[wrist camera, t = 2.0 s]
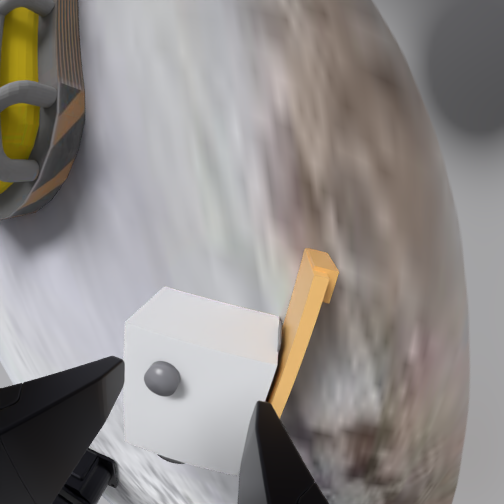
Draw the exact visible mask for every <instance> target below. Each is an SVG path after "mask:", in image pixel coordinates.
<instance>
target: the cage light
mask: <svg viewBox="0 0 504 504" xmlns="http://www.w3.org/2000/svg"><path fill="white" fill-rule="evenodd" d="M84 121H85V89H84V81H83V73H82V63H81V52H80V38H79V19H78V0H0V220H3V219H8V218H13V217H18V216H22V215H26V214H30V213H34V212H37V211H38V210H39V209H40V208H42V207H43V206H44V205H45V204H47V203H48V202H49V201H50V200H52V199H53V197H54V196H55V194H56V193H57V191H58V190H59V188H60V187H61V186H62V184H63V183H64V181H65V180H66V178H67V177H68V174H69V172H70V169H71V167H72V164H73V162H74V159H75V157H76V155H77V152H78V150H79V145H80V140H81V135H82V130H83V126H84Z"/></svg>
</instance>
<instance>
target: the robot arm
mask: <svg viewBox="0 0 504 504" xmlns="http://www.w3.org/2000/svg"><path fill="white" fill-rule="evenodd" d="M124 381H125V363H124V361H123V360H122V359H120V358H117V357H115V356H110V357H107V358H104V359H100V360H97V361H94V362H91V363H88V364H85V365H81V366H78V367H75V368H72V369H68V370H65V371H62V372H58V373H55V374H52V375H48V376H45V377H41V378H38V379H34V380H31V381H27V382H24V383H23V384H22V383H20V384H16V385H12V386H8V387H5V388H0V504H97V503H98V501H99V499H100V497H101V495H102V494H103V492H104V490H105V488H106V487H107V485H109V486H112V487H114V488H116V487H117V478H116V472H115V464H114V461H113V460H111V459H110V458H107V457H105V456H103V455H101V454H99V453H96V452H94V451H92V450H90V449H88V447H89V446H90V444H91V443H92V441H93V440H94V438H95V437H96V435H97V434H98V432H99V431H100V429H101V428H102V426H103V425H104V423H105V421H106V419H107V418H108V416H109V414H110V412H111V410H112V408H113V406H114V404H115V402H116V400H117V398H118V396H119V394H120V392H121V390H122V388H123V385H124ZM314 482H315V481H314V479H313V477H312V476H311V474H310V472H309V470H308V469H307V467H306V465H305V463H304V462H303V460H302V458H301V456H300V455H299V453H298V451H297V449H296V448H295V446H294V444H293V442H292V441H291V439H290V437H289V435H288V433H287V432H286V430H285V428H284V426H283V424H282V423H281V421H280V419H279V417H278V415H277V413H276V411H275V410H274V408H273V406H272V404H271V403H269V402H264V401H260V400H259V401H257V402H256V404H255V407H254V410H253V413H252V416H251V419H250V423H249V427H248V432H247V436H246V441H245V446H244V450H243V455H242V460H241V465H240V476H239V490H238V504H329V503H328V501H327V500H326V498H325V497H324V495H323V494H322V492H321V491H320V489H319V487H318V485H317V484H316V483H314Z"/></svg>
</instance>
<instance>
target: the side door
mask: <svg viewBox="0 0 504 504" xmlns="http://www.w3.org/2000/svg"><path fill="white" fill-rule="evenodd" d="M338 274H339V271H338V269H337V268H336V266H335V264H334V263H333V261H332V260H331V258H330V256H329V255H328V253H325V252H321V251H317V250H313V249H309V248H308V249H307V248H305V250H304V254H303V257H302V261H301V265H300V268H299V272H298V275H297V279H296V282H295V286H294V290H293V293H292V296H291V300H290V303H289V307H288V310H287V314H286V317H285V320H284V324H283V327H282V333H281V347H280V350H279V353H278V362H277V368H276V371H275V374H274V377H273V380H272V383H271V386H270V389H269V391H268V394H267V397H266V400H265V402H269V403H271V404H272V406H273V408H274V410H275V411H276V413H277V415H278V417H279V419H280V417H281V414H282V412H283V409H284V407H285V404H286V402H287V399H288V397H289V394H290V392H291V389H292V387H293V384H294V381H295V379H296V376H297V373H298V371H299V368H300V365H301V363H302V360H303V357H304V354H305V351H306V349H307V346H308V343H309V340H310V337H311V334H312V331H313V329H314V326H315V323H316V320H317V317H318V314H319V311H320V307H321V304H322V302H325V303H329V302H330V299H331V296H332V293H333V290H334V287H335V284H336V281H337V277H338Z"/></svg>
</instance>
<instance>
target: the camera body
mask: <svg viewBox="0 0 504 504" xmlns="http://www.w3.org/2000/svg"><path fill="white" fill-rule="evenodd" d="M281 333H282V320H280V324H279V316H276V315H272V314H268V313H264V312H259V311H255V310H251V309H247V308H243V307H239V306H235V305H232V304H228V303H224V302H220V301H216V300H212V299H209V298H205V297H201V296H198V295H194V294H190V293H187V292H183V291H180V290H176V289H173V288H169V287H166V286H164V287H163V288H162V289H161V290H160V291H159V292H157V293H156V294H155V295H154V296H153V297H152V298H151V299H150V300H149V301H147V302H146V303H145V304H144V305H143V306H142V307H141V308H140V309H139V310H138V311H136V312H135V313H134V314H133V315H132V316H131V317H130V318H129V319H128V320H127V321H126V322H125V332H124V358H123V361H124V363H125V381H124V385H123V412H124V437H125V442H126V443H129V444H131V445H134V446H136V447H139V448H142V449H144V450H147V451H150V452H153V453H155V454H157V455H158V456H160V457H161V458H162V459H164V460H166V461H169V462H172V463H177V464H184V463H187V464H190V465H193V466H197V467H201V468H204V469H208V470H212V471H216V472H220V473H225V474H229V475H234V476H237V475H238V473H239V470H240V465H241V460H242V455H243V450H244V446H245V441H246V436H247V432H248V427H249V423H250V419H251V416H252V413H253V410H254V407H255V404H256V402H257V401H259V400H260V401H264V402H265V400H266V397H267V394H268V391H269V389H270V386H271V383H272V380H273V377H274V374H275V371H276V368H277V362H278V353H279V350H280V347H281Z"/></svg>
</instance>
